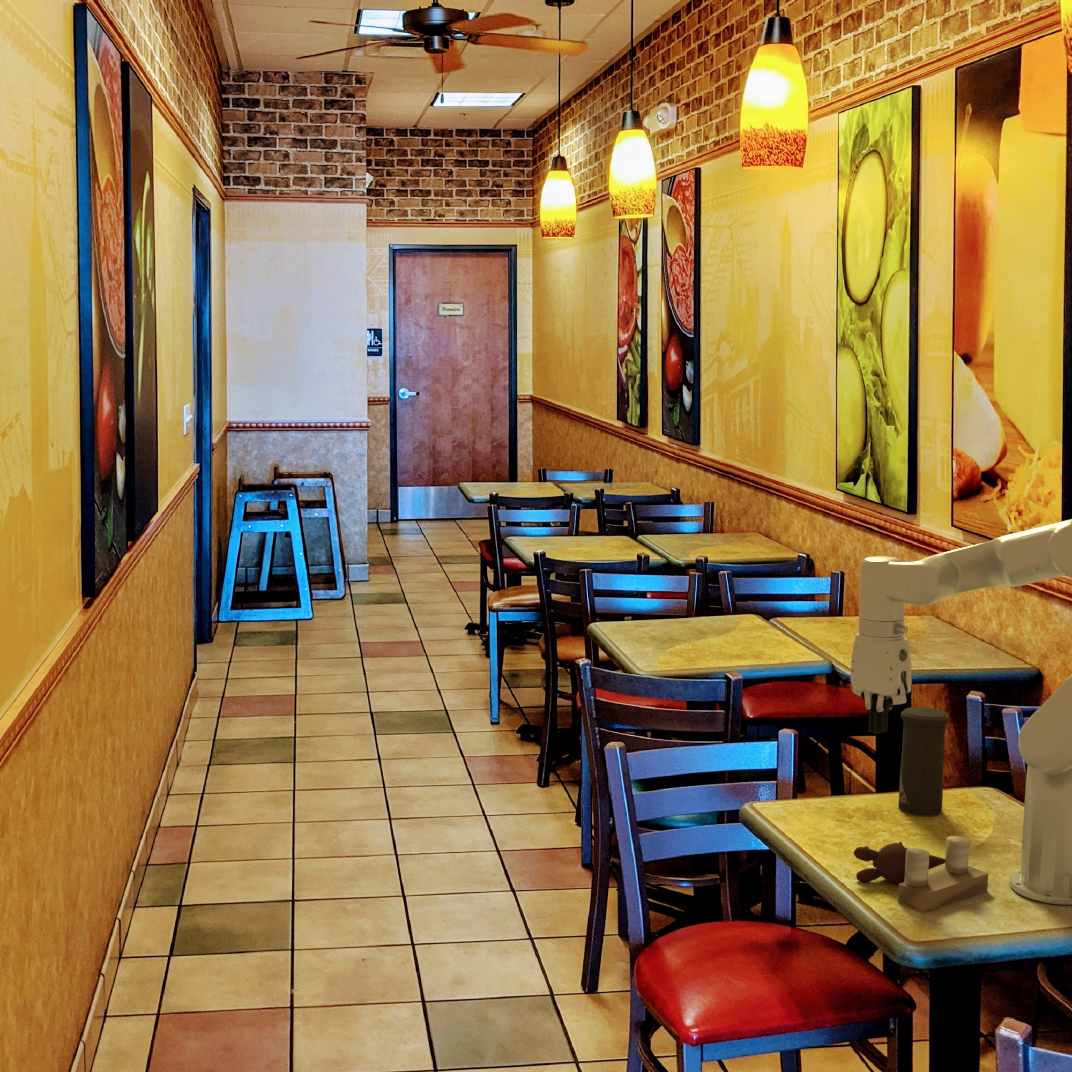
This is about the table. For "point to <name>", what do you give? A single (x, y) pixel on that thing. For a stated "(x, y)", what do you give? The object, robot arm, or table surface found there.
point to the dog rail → (940, 878)
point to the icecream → (888, 863)
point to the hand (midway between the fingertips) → (877, 731)
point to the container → (922, 761)
